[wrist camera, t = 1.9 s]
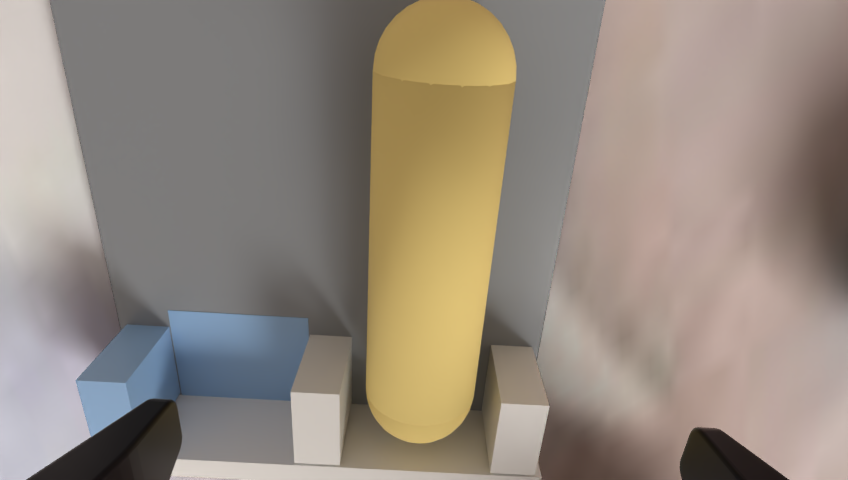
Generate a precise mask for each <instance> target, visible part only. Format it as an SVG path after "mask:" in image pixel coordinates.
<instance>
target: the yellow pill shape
mask: <svg viewBox="0 0 848 480" xmlns="http://www.w3.org/2000/svg"><path fill="white" fill-rule="evenodd" d="M516 67H517V65H516V59H515V52H514V49H513V46H512V43H511V40H510V38H509V35H508V34H507V32H506V30H505V29H504V27H503V25H502V24H501V22H500V21H499V20H498V19H497V18H496V17H495V16H494V15H493V14H492V13H491V12H490V11H489V10H487V9H486V8H484V7H483V6H481V5H480V4H479V3H476V2H474V1H471V0H419V1H417V2H415V3H413V4H411V5H409V6H407V7H406V8H405V9H404V10H402V11H401V12H400V13H398V14H397V15H396V16H395V17H394V18H393V20H392V21H391V22H390V23H389V24H388V26H387V27H386V29H385V30H384V32H383V34H382V36H381V38H380V40H379V42H378V45H377V49H376V52H375V56H374V64H373V79H372V125H371V172H370V218H369V264H368V310H367V357H366V394H367V400H368V404H369V407H370V409H371V412H372V414H373V416H374V417H375V419H376V420H377V422H378V423H379V424H380V425H381V426H382V428H383V429H384V430H385V431H387V432H388V433H390V434H391V435H393V436H394V437H396V438H398V439H400V440H403V441H406V442H410V443H417V444H418V443H430V442H434V441H437V440H439V439H442V438H444V437H446V436H448V435H450V434H451V433H452V432H453V431H454V430H455V429H456V428H458V427H459V426H460V425H461V424H462V422H463V421H464V419H465V418H466V416H467V414H468V413H469V411H470V408H471V405H472V401H473V398H474V391H475V384H476V376H477V369H478V361H479V354H480V346H481V339H482V331H483V324H484V316H485V309H486V301H487V294H488V286H489V279H490V271H491V264H492V256H493V249H494V241H495V234H496V226H497V219H498V211H499V204H500V196H501V189H502V181H503V174H504V166H505V159H506V151H507V144H508V136H509V129H510V121H511V114H512V106H513V99H514V91H515V84H516Z"/></svg>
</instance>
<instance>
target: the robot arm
mask: <svg viewBox="0 0 848 480" xmlns="http://www.w3.org/2000/svg"><path fill="white" fill-rule="evenodd" d="M181 445H182V430H181V425H180V419H179V413H178V407H177V404H176V402H175V401H174V400H171V399H157V398H153V399H148V400H146V401H145V402H143V403H142V404H140V405H139V406H137V407H136V408H134V409H133V410H131V411H130V412H128V413H126V414H125V415H123V416H122V417H120V418H119V419H117V420H116V421H114V422H113V423H111V424H110V425H108V426H107V427H105V428H104V429H102V430H101V431H99V432H98V433H96V434H95V435H93V436H92V437H90V438H89V439H87V440H86V441H84V442H83V443H81V444H80V445H78V446H77V447H75V448H73V449H72V450H70V451H69V452H67V453H66V454H64V455H63V456H61V457H60V458H58V459H57V460H55V461H54V462H52V463H51V464H49V465H48V466H46V467H45V468H43V469H42V470H40V471H39V472H37V473H36V474H34V475H33V476H31V477H30V478H28V479H27V480H169V479H170V477H171V474H172V471H173V468H174V466H175V463H176V460H177V457H178V454H179V452H180V449H181ZM680 473H681V477H682V480H789V479H787V478H786V477H785V476H783V475H782V474H780V473H779V472H778V471H776V470H775V469H774V468H772V467H771V466H770V465H768V464H767V463H765V462H764V461H763V460H761V459H760V458H759V457H757V456H756V455H755V454H753V453H752V452H750V451H749V450H748V449H746V448H745V447H744V446H742V445H741V444H739V443H738V442H737V441H735V440H734V439H733V438H731V437H730V436H729V435H727V434H726V433H724V432H723V431H721V430H719V429H716V428H702V427H697V428H694V429H693V430H692V431H691V433H690V435H689V438H688V441H687V444H686V446H685V449H684V452H683V455H682V457H681V461H680Z"/></svg>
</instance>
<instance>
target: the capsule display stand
mask: <svg viewBox="0 0 848 480" xmlns="http://www.w3.org/2000/svg"><path fill="white" fill-rule="evenodd" d="M417 1H419V0H50V4H51V9H52V14H53V18H54V23H55V27H56V32H57V37H58V41H59V46H60V51H61V55H62V60H63V64H64V69H65V74H66V78H67V83H68V88H69V92H70V97H71V101H72V106H73V111H74V115H75V120H76V125H77V129H78V134H79V138H80V143H81V148H82V152H83V157H84V162H85V166H86V171H87V175H88V180H89V185H90V189H91V194H92V199H93V203H94V208H95V212H96V217H97V222H98V226H99V231H100V235H101V240H102V245H103V249H104V254H105V259H106V263H107V268H108V272H109V277H110V282H111V286H112V291H113V296H114V300H115V305H116V309H117V314H118V319H119V323H120V328H121V331H120V332H119V333H118V334H117V336H116V337H115V338H114V339H113V340H112V341H111V342H110V343H109V344H108V345H107V347H106V348H105V349H104V350H103V351H102V352H101V353H100V354H99V355H98V356H97V358H96V359H95V360H94V361H93V362H92V363H91V364H90V365H89V366H88V367H87V369H86V370H85V371H84V372H83V373H82V374H81V375H80V376H79V377H78V378H77V380H76V384H77V387H78V391H79V395H80V398H81V402H82V406H83V409H84V413H85V417H86V420H87V424H88V428H89V431H90V435H91V437H92V436H93V435H95V434H96V433H98V432H99V431H101V430H102V429H104V428H105V427H107V426H108V425H110V424H111V423H113V422H114V421H116V420H117V419H119V418H120V417H122V416H123V415H125V414H126V413H128V412H130V411H131V410H133V409H134V408H136V407H137V406H139V405H140V404H142V403H143V402H145V401H146V400H148V399H153V398H157V399H171V400H174V401H175V402H176V404H177V407H178V413H179V419H180V425H181V430H182V445H181V449H180V452H179V454H178V457H177V460H176V463H175V466H174V468H173V471H172V474H171V476H179V477H199V478H219V479H239V480H541V479H542V476H541V472H540V468H539V464H538V458H539V454H540V449H541V444H542V440H543V435H544V430H545V426H546V421H547V416H548V412H549V407H550V405H549V402H548V399H547V395H546V392H545V388H544V385H543V382H542V378H541V375H540V372H539V368H538V365H537V362H536V361H537V356H538V351H539V345H540V340H541V335H542V330H543V324H544V319H545V314H546V309H547V304H548V298H549V293H550V288H551V283H552V277H553V272H554V267H555V262H556V256H557V251H558V246H559V241H560V236H561V230H562V225H563V220H564V215H565V209H566V204H567V199H568V194H569V188H570V183H571V178H572V173H573V167H574V162H575V157H576V152H577V147H578V141H579V136H580V131H581V126H582V120H583V115H584V110H585V105H586V99H587V94H588V89H589V84H590V79H591V73H592V68H593V63H594V58H595V52H596V47H597V42H598V37H599V31H600V26H601V21H602V16H603V11H604V5H605V0H471V1H474V2H476V3H479V4H480V5H481V6H483V7H484V8H486V9H487V10H489V11H490V12H491V13H492V14H493V15H494V16H495V17H496V18H497V19H498V20H499V21H500V22H501V24H502V25H503V27H504V29H505V30H506V32H507V34H508V35H509V38H510V40H511V43H512V46H513V49H514V52H515V59H516V65H517V67H516V84H515V91H514V99H513V106H512V114H511V121H510V129H509V136H508V144H507V151H506V159H505V166H504V174H503V181H502V189H501V196H500V204H499V211H498V219H497V226H496V234H495V241H494V249H493V256H492V264H491V271H490V279H489V286H488V294H487V301H486V309H485V316H484V324H483V331H482V339H481V346H480V354H479V361H478V369H477V376H476V384H475V391H474V398H473V401H472V405H471V408H470V411H469V413H468V414H467V416H466V418H465V419H464V421H463V422H462V424H461V425H460V426H459V427H458V428H456V429H455V430H454V431H453V432H452V433H451V434H450V435H448V436H446V437H444V438H442V439H439V440H437V441H434V442H430V443H418V444H417V443H410V442H406V441H403V440H400V439H398V438H396V437H394V436H393V435H391V434H390V433H388V432H387V431H385V430H384V429H383V428H382V426H381V425H380V424H379V423H378V422H377V420H376V419H375V417H374V416H373V414H372V412H371V409H370V407H369V404H368V400H367V394H366V357H367V310H368V264H369V218H370V172H371V125H372V79H373V64H374V56H375V52H376V49H377V45H378V42H379V40H380V38H381V36H382V34H383V32H384V30H385V29H386V27H387V26H388V24H389V23H390V22H391V21H392V20H393V18H394V17H395V16H396V15H397V14H398V13H400V12H401V11H402V10H404V9H405V8H406V7H407V6H409V5H411V4H413V3H415V2H417Z"/></svg>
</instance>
